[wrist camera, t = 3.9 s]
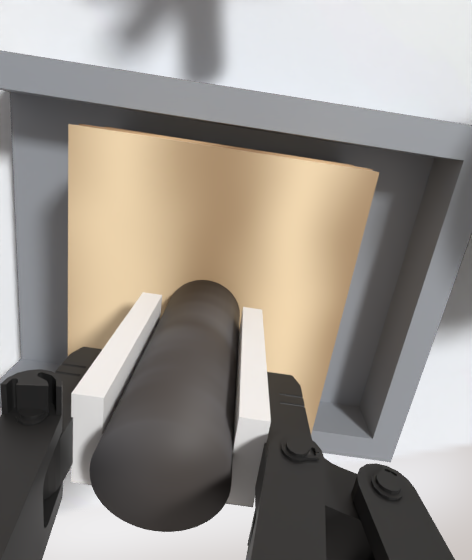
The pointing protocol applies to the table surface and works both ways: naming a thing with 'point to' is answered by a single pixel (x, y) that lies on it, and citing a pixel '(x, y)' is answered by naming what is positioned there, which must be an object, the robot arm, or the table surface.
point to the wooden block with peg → (201, 297)
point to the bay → (278, 139)
